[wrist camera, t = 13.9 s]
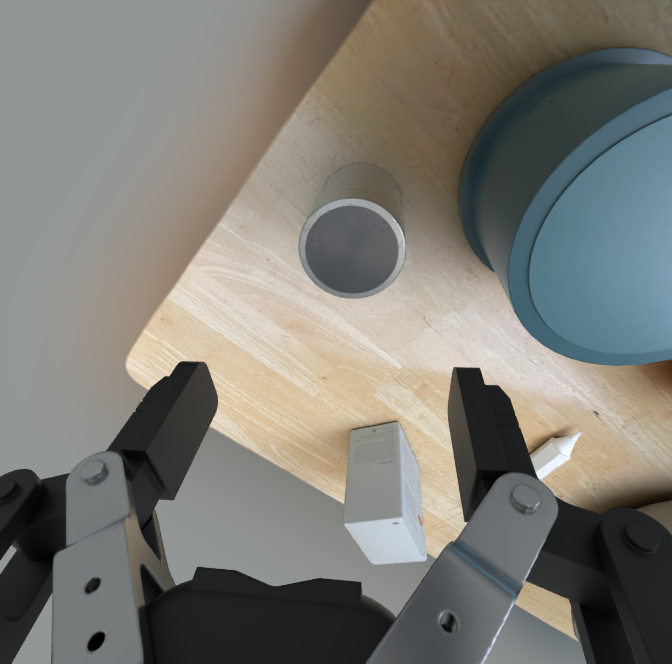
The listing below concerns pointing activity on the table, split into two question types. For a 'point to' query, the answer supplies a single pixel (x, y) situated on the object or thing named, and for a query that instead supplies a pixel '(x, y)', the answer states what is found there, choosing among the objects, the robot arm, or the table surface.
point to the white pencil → (553, 454)
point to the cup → (355, 233)
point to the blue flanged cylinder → (581, 204)
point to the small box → (384, 496)
